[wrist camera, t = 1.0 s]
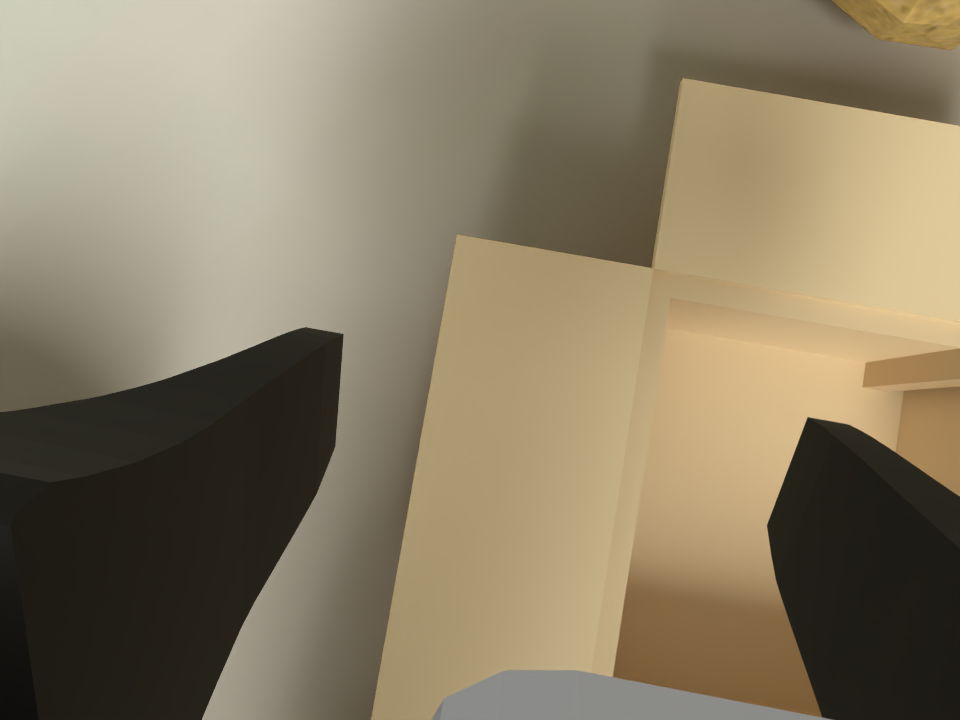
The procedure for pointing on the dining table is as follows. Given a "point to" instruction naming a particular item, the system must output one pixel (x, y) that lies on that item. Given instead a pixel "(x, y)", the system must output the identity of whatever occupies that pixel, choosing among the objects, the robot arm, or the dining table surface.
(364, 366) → the dining table surface
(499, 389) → the carton
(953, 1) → the potato
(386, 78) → the dining table surface
